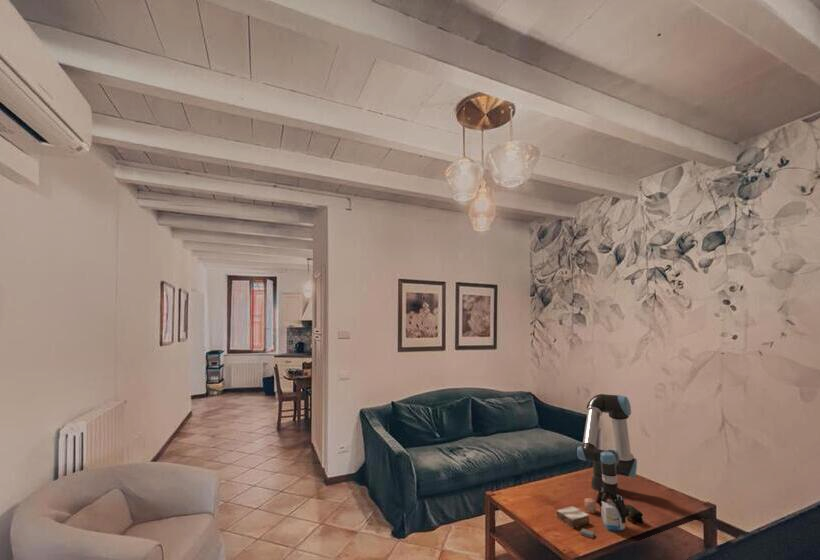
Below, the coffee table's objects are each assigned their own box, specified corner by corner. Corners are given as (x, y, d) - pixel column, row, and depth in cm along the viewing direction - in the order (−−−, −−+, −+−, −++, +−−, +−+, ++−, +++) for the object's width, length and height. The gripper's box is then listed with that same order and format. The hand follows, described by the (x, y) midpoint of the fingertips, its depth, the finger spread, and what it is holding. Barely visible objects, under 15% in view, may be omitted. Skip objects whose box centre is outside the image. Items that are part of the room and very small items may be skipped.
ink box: (624, 531, 207) (622, 508, 209) (607, 530, 209) (605, 507, 210) (619, 523, 216) (617, 501, 217) (602, 521, 217) (601, 500, 219)
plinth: (557, 518, 223) (556, 510, 223) (572, 513, 227) (572, 505, 228) (573, 528, 212) (572, 519, 212) (589, 523, 216) (588, 514, 217)
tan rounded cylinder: (582, 509, 232) (582, 499, 232) (590, 507, 234) (589, 497, 235) (591, 514, 226) (590, 503, 227) (598, 512, 229) (597, 501, 229)
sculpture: (617, 513, 226) (616, 501, 227) (626, 511, 228) (625, 499, 228) (634, 525, 213) (633, 512, 214) (644, 523, 215) (643, 510, 215)
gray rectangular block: (580, 535, 206) (580, 531, 206) (583, 532, 209) (582, 528, 209) (592, 539, 202) (592, 535, 202) (594, 535, 205) (594, 531, 205)
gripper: (587, 475, 224) (590, 514, 222) (624, 491, 203) (627, 535, 200) (597, 473, 227) (599, 512, 225) (633, 488, 205) (637, 532, 203)
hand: (612, 523), depth 213 cm, fingers closed on ink box, 11 cm apart
